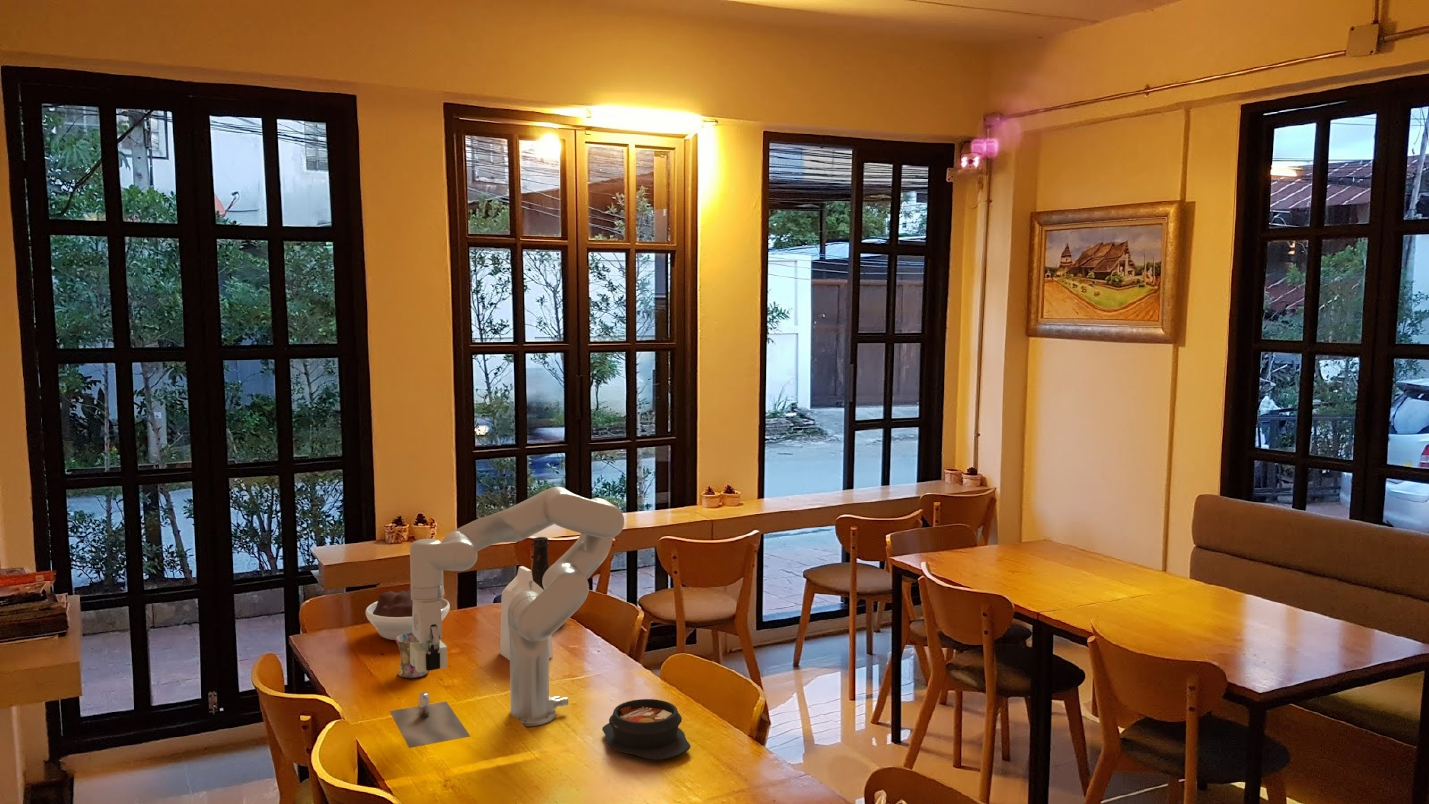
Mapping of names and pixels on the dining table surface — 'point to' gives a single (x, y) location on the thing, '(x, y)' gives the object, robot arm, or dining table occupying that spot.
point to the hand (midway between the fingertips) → (428, 664)
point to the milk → (513, 588)
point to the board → (429, 725)
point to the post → (424, 705)
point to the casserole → (646, 729)
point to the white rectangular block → (419, 655)
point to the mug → (407, 656)
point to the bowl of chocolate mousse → (396, 613)
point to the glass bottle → (540, 559)
